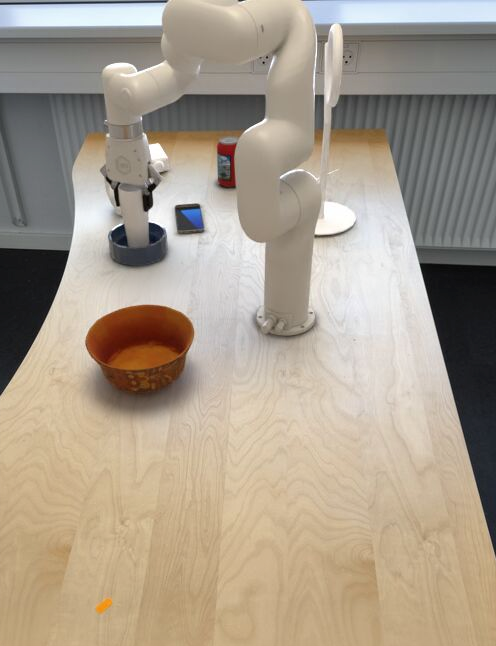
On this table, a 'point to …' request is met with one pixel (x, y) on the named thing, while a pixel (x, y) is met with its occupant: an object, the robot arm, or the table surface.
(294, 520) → the table surface
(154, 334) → the bowl
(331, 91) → the desk lamp
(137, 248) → the blue bowl
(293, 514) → the table surface
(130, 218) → the tall white cup
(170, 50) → the robot arm
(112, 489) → the table surface
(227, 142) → the beverage can
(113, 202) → the mug
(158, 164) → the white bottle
